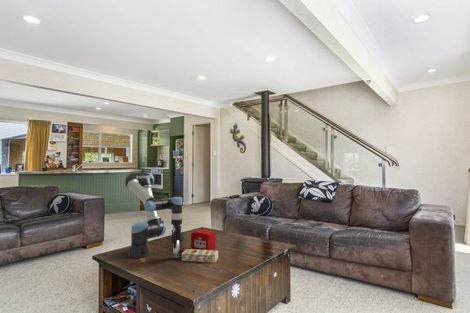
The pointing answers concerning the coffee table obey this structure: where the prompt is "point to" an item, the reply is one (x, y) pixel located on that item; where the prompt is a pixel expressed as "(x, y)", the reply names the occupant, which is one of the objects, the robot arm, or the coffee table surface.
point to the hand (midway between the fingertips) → (176, 251)
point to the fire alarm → (203, 240)
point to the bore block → (200, 255)
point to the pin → (177, 250)
